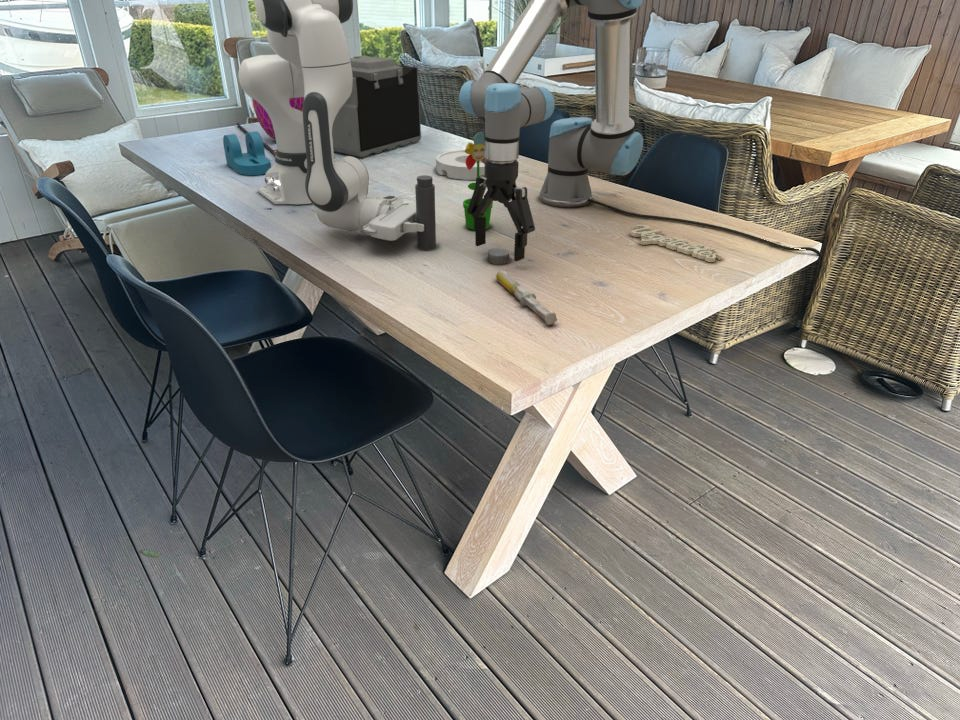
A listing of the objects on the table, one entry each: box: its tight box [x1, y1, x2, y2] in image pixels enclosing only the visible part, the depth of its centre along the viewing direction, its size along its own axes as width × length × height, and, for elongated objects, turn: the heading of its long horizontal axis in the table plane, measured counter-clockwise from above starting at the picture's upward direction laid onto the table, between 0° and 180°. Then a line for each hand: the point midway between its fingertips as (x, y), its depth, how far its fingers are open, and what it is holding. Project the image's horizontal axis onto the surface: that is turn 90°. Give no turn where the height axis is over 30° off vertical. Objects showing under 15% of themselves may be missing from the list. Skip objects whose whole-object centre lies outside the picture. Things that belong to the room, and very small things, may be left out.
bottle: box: [414, 175, 437, 251], centre depth 165 cm, size 5×5×17 cm
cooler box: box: [332, 55, 422, 159], centre depth 250 cm, size 37×22×30 cm, turn 144°
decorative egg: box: [251, 97, 304, 141], centre depth 257 cm, size 19×19×30 cm
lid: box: [486, 247, 510, 265], centre depth 162 cm, size 5×5×2 cm
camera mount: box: [222, 131, 272, 176], centre depth 226 cm, size 18×10×10 cm, turn 35°
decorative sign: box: [630, 224, 722, 263], centre depth 172 cm, size 26×1×10 cm
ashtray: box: [435, 149, 485, 181], centre depth 229 cm, size 23×23×4 cm
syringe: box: [495, 269, 558, 326], centre depth 143 cm, size 25×4×3 cm, turn 21°
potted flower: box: [462, 131, 494, 231], centre depth 176 cm, size 9×8×25 cm
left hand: (429, 223), depth 167 cm, fingers closed on bottle, 4 cm apart
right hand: (499, 251), depth 162 cm, fingers open, 12 cm apart
